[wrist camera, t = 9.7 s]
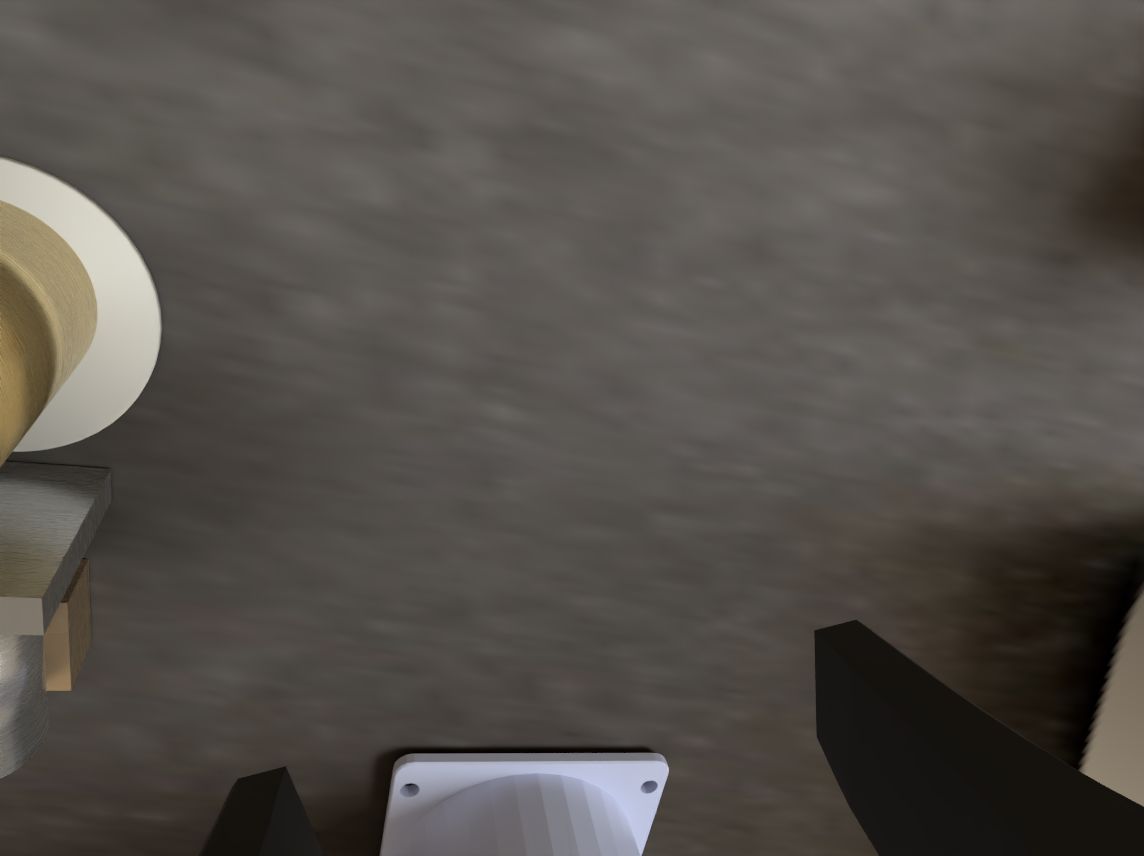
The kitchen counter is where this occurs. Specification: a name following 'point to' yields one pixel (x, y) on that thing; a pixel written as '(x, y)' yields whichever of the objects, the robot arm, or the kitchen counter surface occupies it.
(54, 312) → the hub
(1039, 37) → the kitchen counter surface
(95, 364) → the seat
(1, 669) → the shaft
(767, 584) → the kitchen counter surface
